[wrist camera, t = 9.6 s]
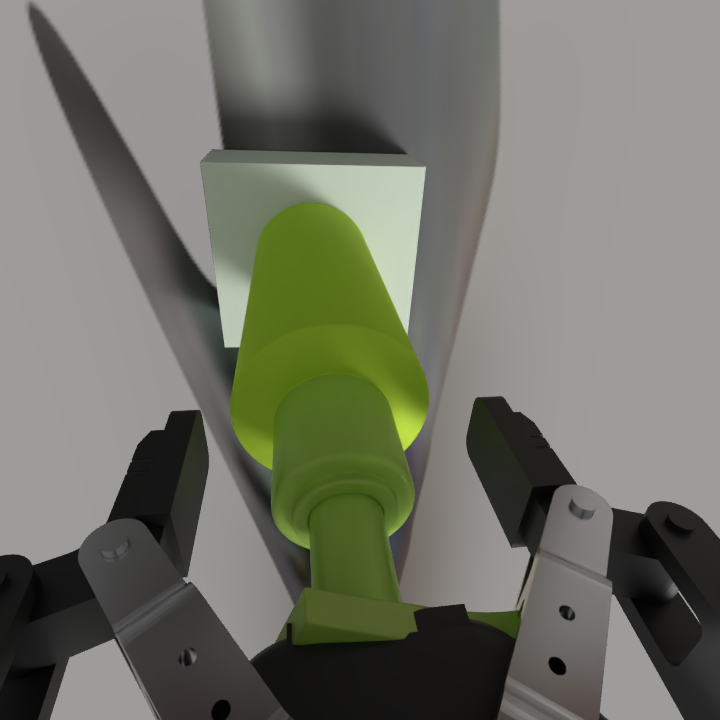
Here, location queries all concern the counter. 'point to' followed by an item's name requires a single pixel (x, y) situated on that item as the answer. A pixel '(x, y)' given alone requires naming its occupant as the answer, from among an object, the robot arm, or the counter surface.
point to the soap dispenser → (333, 421)
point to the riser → (310, 185)
